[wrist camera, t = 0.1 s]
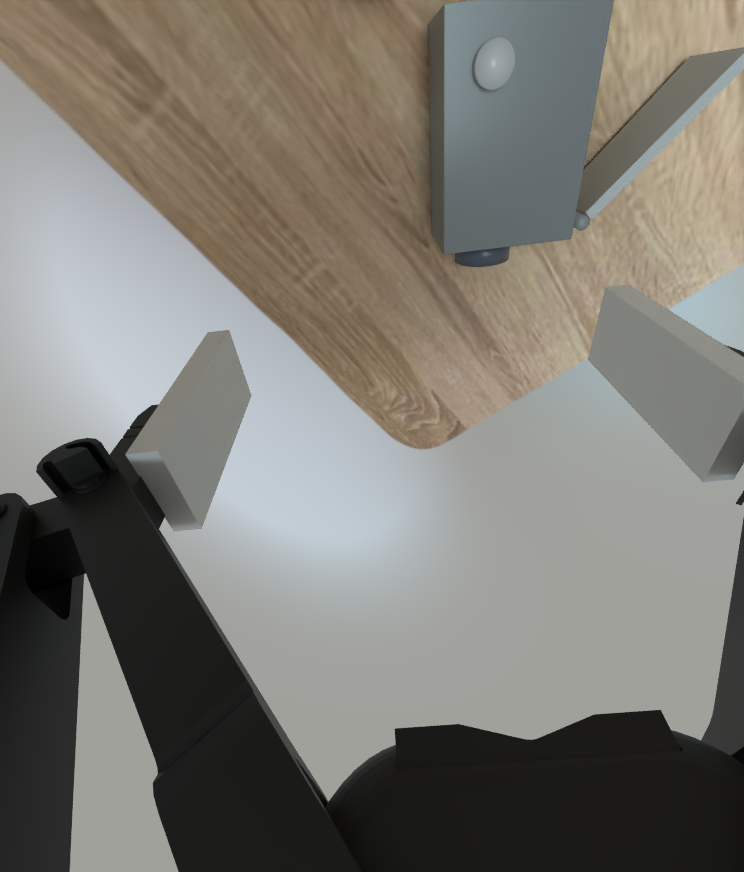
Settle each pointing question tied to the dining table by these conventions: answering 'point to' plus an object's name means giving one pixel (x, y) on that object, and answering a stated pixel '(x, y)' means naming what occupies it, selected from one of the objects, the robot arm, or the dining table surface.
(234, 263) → the dining table surface
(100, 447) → the robot arm
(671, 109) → the side door
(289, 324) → the dining table surface
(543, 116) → the camera body
